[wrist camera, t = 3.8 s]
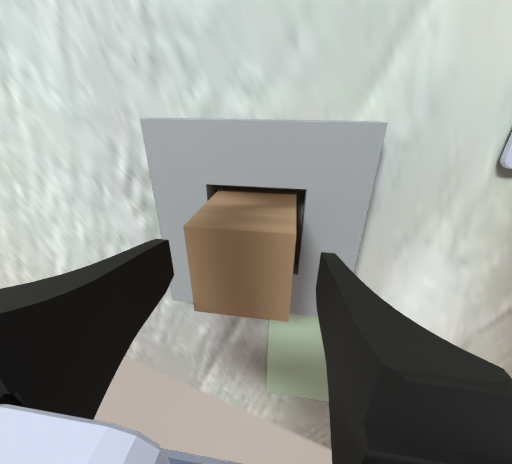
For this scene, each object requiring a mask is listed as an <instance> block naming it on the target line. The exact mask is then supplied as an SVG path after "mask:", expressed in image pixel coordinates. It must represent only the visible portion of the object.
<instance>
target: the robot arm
mask: <svg viewBox="0 0 512 464" xmlns="http://www.w3.org/2000/svg"><path fill="white" fill-rule="evenodd" d="M500 163H501V165H502V166H503V167H505V168H508V169H512V133H511V135H510V137H509V140H508V142H507V144H506V147H505V149H504V151H503V154H502V156H501V159H500ZM173 277H174V269H173V263H172V257H171V251H170V245H169V240H165V239H155V240H151V241H148V242H146V243H143V244H141V245H138V246H136V247H134V248H131V249H129V250H127V251H124V252H122V253H120V254H117V255H115V256H112V257H110V258H107V259H105V260H102V261H100V262H97V263H95V264H92V265H89V266H86V267H83V268H81V269H78V270H74V271H71V272H68V273H65V274H61V275H58V276H54V277H50V278H46V279H42V280H39V281H35V282H31V283H26V284H22V285H17V286H12V287H7V288H2V289H0V464H241V463H236V462H231V461H226V460H220V459H214V458H210V457H205V456H199V455H194V454H189V453H183V452H178V451H172V450H168V449H163V448H161V447H160V446H159V445H158V444H157V443H155V442H154V441H152V440H151V439H149V438H148V437H146V436H144V435H143V434H141V433H140V432H138V431H134V430H131V429H129V428H125V427H122V426H119V425H116V424H112V423H107V422H102V421H96V420H93V419H94V417H95V415H96V413H97V410H98V408H99V406H100V404H101V402H102V399H103V398H104V395H105V393H106V391H107V389H108V387H109V385H110V383H111V381H112V379H113V377H114V375H115V373H116V371H117V369H118V367H119V365H120V363H121V361H122V359H123V358H124V356H125V354H126V352H127V350H128V349H129V347H130V345H131V343H132V341H133V340H134V338H135V336H136V335H137V333H138V332H139V330H140V329H141V327H142V326H143V324H144V323H145V322H146V320H147V319H148V317H149V316H150V314H151V313H152V312H153V310H154V309H155V307H156V306H157V304H158V303H159V301H160V300H161V299H162V297H163V296H164V294H165V293H166V291H167V289H168V287H169V285H170V283H171V281H172V279H173ZM316 306H317V314H318V319H319V325H320V331H321V336H322V342H323V347H324V353H325V360H326V369H327V382H328V395H329V410H330V427H331V446H332V464H512V379H511V377H510V376H509V375H508V374H507V373H506V371H505V370H504V369H503V368H500V367H498V366H496V365H494V364H492V363H490V362H488V361H486V360H484V359H482V358H480V357H478V356H475V355H473V354H471V353H469V352H467V351H465V350H463V349H461V348H459V347H457V346H455V345H453V344H451V343H450V342H448V341H446V340H444V339H442V338H440V337H439V336H437V335H435V334H433V333H432V332H430V331H428V330H426V329H425V328H423V327H421V326H420V325H418V324H417V323H415V322H414V321H412V320H411V319H409V318H407V317H406V316H404V315H403V314H401V313H400V312H399V311H397V310H396V309H394V308H393V307H392V306H390V305H389V304H388V303H386V302H385V301H384V300H383V299H381V298H380V297H379V296H378V295H376V294H375V293H374V292H373V291H372V290H371V289H370V288H369V287H367V286H366V285H365V284H364V283H363V282H362V281H361V280H360V279H359V278H358V277H357V276H356V275H355V274H354V273H353V272H352V271H351V270H350V269H349V268H348V267H347V266H346V264H345V263H344V262H343V261H342V260H341V259H340V258H339V257H338V256H337V255H336V254H335V253H327V252H321V256H320V263H319V269H318V276H317V283H316Z"/></svg>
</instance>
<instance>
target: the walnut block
mask: <svg viewBox="0 0 512 464" xmlns="http://www.w3.org/2000/svg"><path fill="white" fill-rule="evenodd" d="M183 229H184V236H185V244H186V251H187V258H188V266H189V273H190V281H191V288H192V295H193V303H194V310H195V311H199V312H208V313H216V314H225V315H233V316H242V317H251V318H259V319H268V320H276V321H285V322H289V311H290V300H291V289H292V278H293V267H294V255H295V244H296V190H293V189H273V188H253V187H233V186H222V187H221V188H220V189H219V190H218V191H217V192H216V193H215V194H214V195H213V196H212V197H211V198H210V199H209V200H208V201H207V202H206V203H205V204H204V205H203V207H202V208H201V209H200V210H199V211H198V212H197V213H196V214H195V215H194V216H193V217H192V218H191V219H190V220H189V221H188V222H187V223H186V224H185V225H184V226H183Z"/></svg>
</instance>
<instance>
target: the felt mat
mask: <svg viewBox="0 0 512 464" xmlns="http://www.w3.org/2000/svg"><path fill="white" fill-rule="evenodd" d="M266 392H269V393H275V394H281V395H288V396H294V397H300V398H307V399H313V400H319V401H326V402H329V395H328V382H327V369H326V360H325V353H324V347H323V342H322V336H321V331H320V325H319V319H318V317H314V316H306V315H297V314H289V322H285V321H276V320H269V331H268V353H267V375H266Z"/></svg>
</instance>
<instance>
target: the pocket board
mask: <svg viewBox="0 0 512 464" xmlns="http://www.w3.org/2000/svg"><path fill="white" fill-rule="evenodd" d="M140 122H141V127H142V133H143V138H144V144H145V149H146V155H147V161H148V166H149V172H150V177H151V183H152V188H153V194H154V199H155V205H156V211H157V216H158V222H159V227H160V233H161V238H162V239H165V240H169V245H170V251H171V257H172V263H173V269H174V277H173V279H172V281H171V283H170V288H171V294H172V299H173V300H176V301H185V302H193V295H192V288H191V281H190V273H189V266H188V258H187V251H186V244H185V236H184V229H183V226H184V225H185V224H186V223H187V222H188V221H189V220H190V219H191V218H192V217H193V216H194V215H195V214H196V213H197V212H198V211H199V210H200V209H201V208H202V207H203V205H204V204H205V203H206V202H207V201H208V200H209V199H210V198H211V197H212V196H213V195H214V194H215V185H231V186H251V187H270V188H289V189H305V197H304V206H303V216H302V226H301V236H300V246H299V256H298V262H294V267H293V278H292V289H291V300H290V311H289V314H297V315H306V316H314V317H318V314H317V306H316V283H317V276H318V269H319V263H320V256H321V252H327V253H335V254H336V255H337V256H338V257H339V258H340V259H341V260H342V261H343V262H344V263H345V264H346V266H347V267H348V268H349V269H350V270H351V271H352V272H353V273H354V269H355V265H356V260H357V256H358V252H359V247H360V243H361V238H362V234H363V229H364V225H365V221H366V216H367V212H368V207H369V203H370V198H371V194H372V189H373V185H374V181H375V176H376V172H377V167H378V163H379V158H380V154H381V149H382V145H383V141H384V136H385V132H386V127H387V123H384V122H368V121H308V120H247V119H187V118H145V119H140Z"/></svg>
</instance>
